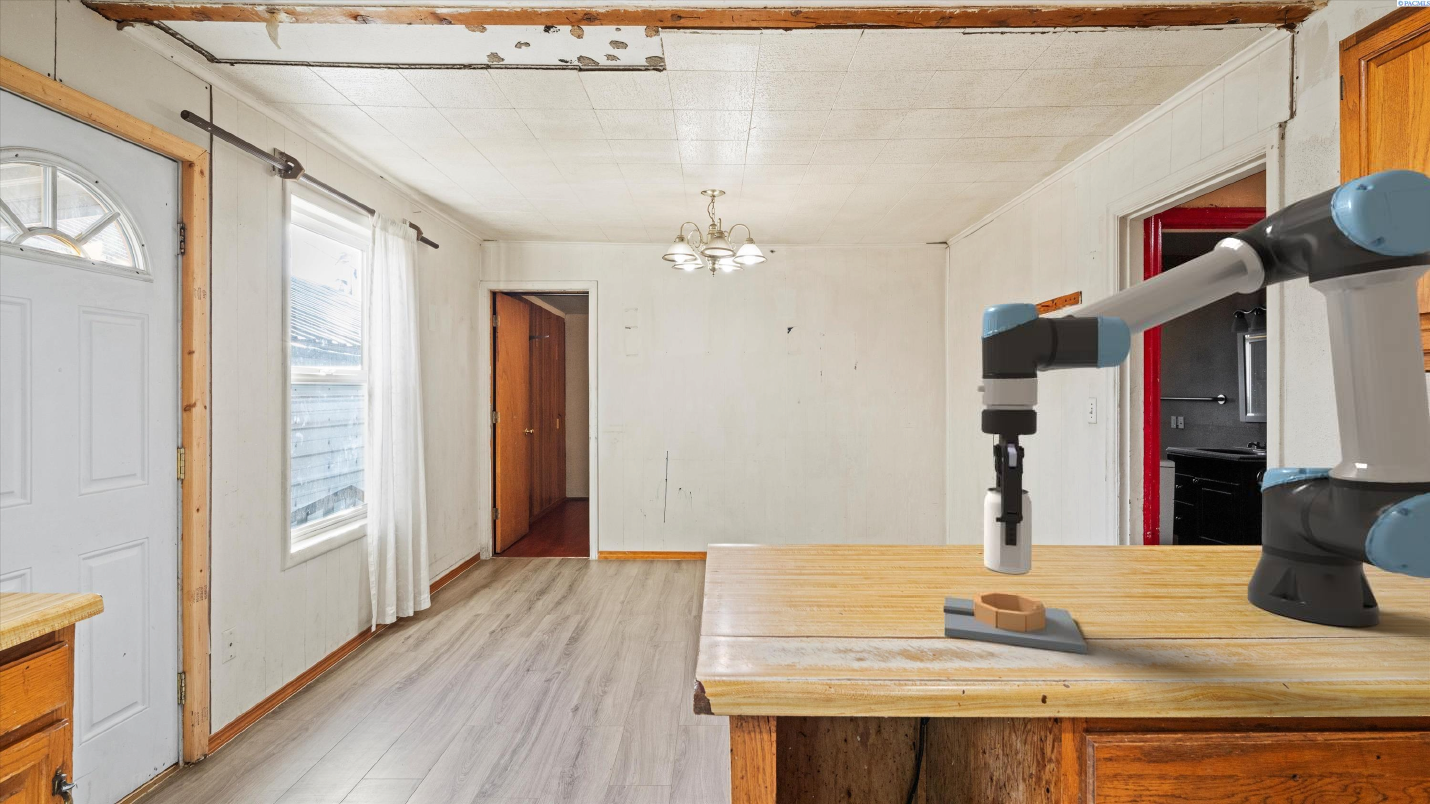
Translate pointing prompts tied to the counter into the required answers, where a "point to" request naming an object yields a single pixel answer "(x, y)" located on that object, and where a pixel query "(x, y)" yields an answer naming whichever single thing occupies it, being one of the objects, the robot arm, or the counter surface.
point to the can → (993, 533)
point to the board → (1012, 622)
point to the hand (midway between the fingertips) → (1007, 559)
